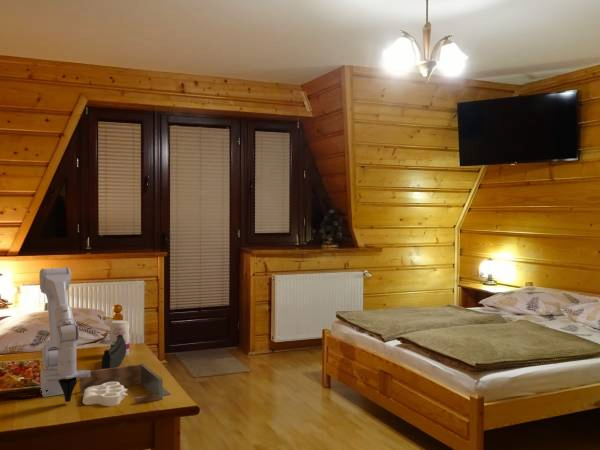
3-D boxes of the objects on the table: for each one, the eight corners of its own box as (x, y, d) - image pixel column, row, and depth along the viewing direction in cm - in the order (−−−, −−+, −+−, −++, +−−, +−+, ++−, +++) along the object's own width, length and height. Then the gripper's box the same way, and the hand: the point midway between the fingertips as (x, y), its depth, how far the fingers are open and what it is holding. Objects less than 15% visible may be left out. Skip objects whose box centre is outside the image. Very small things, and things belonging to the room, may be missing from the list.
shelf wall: (93, 411, 189) (93, 389, 189) (79, 391, 208) (79, 372, 208) (162, 399, 201) (162, 378, 200) (143, 382, 220) (143, 363, 220)
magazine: (107, 357, 222) (124, 319, 250) (99, 357, 222) (116, 319, 250) (111, 395, 228) (126, 354, 256) (102, 395, 227) (119, 355, 256)
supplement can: (124, 352, 266) (124, 319, 265) (132, 355, 260) (132, 321, 259) (107, 355, 260) (106, 321, 260) (115, 358, 254) (115, 324, 254)
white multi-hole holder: (85, 393, 209) (127, 389, 213) (82, 409, 191) (128, 405, 196) (84, 383, 208) (127, 380, 213) (82, 399, 191) (128, 395, 196)
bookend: (159, 399, 200) (159, 379, 200) (140, 382, 220) (139, 364, 219) (173, 397, 203) (173, 377, 203) (153, 380, 222) (153, 362, 222)
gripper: (45, 366, 188) (46, 408, 188) (92, 360, 196) (92, 400, 196) (42, 361, 194) (42, 401, 195) (88, 355, 202) (88, 394, 202)
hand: (67, 400), depth 196 cm, fingers closed
